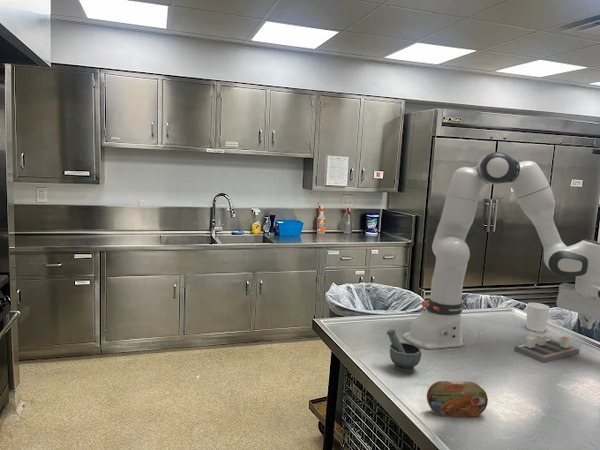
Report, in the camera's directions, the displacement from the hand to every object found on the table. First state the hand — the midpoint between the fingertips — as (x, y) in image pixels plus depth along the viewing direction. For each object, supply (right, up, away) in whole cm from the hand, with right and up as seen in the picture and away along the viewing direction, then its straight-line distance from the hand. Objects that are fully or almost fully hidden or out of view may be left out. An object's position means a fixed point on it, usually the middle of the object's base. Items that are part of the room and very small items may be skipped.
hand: (585, 327), depth 154 cm
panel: (-10, -10, +6) cm, 15 cm away
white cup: (-2, -8, +30) cm, 31 cm away
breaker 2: (-11, -8, +8) cm, 16 cm away
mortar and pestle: (-66, -10, -13) cm, 68 cm away
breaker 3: (-4, -8, +6) cm, 11 cm away
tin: (-58, -14, -38) cm, 71 cm away
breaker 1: (-16, -8, +5) cm, 19 cm away
